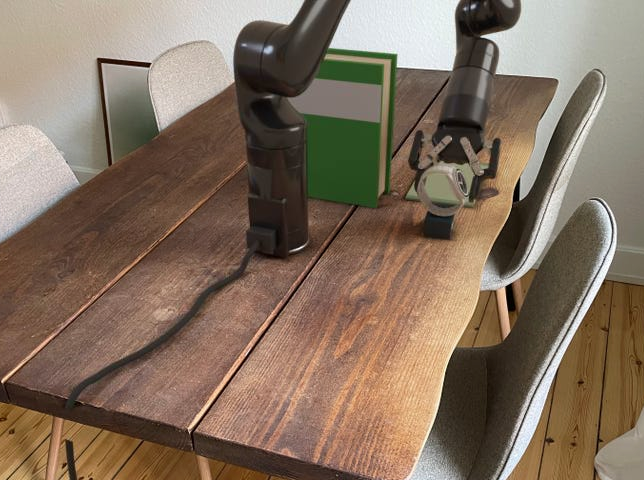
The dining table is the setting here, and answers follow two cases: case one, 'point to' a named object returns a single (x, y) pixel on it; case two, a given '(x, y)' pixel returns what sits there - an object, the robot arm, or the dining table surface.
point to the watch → (438, 214)
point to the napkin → (444, 186)
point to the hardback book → (350, 126)
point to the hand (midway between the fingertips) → (444, 197)
